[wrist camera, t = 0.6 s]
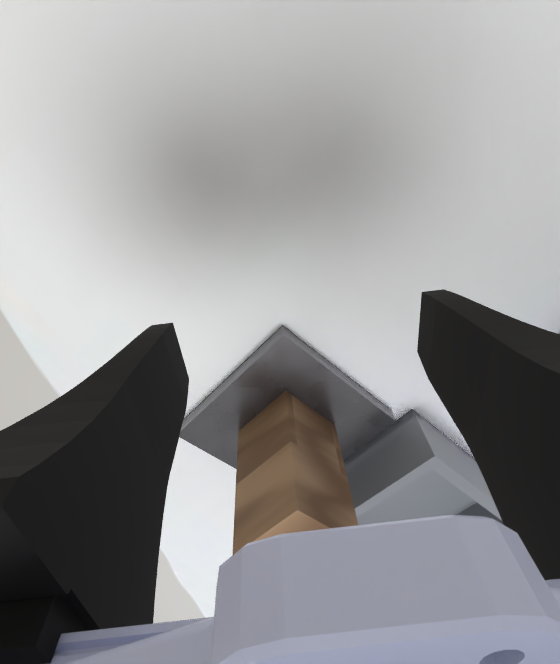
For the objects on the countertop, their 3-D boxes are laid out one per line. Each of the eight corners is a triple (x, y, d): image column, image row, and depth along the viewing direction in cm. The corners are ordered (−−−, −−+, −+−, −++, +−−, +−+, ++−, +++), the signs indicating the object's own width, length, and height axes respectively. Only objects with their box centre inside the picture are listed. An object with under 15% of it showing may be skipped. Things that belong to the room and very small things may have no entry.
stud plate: (391, 410, 27) (415, 468, 23) (288, 487, 31) (293, 549, 27) (282, 325, 24) (288, 376, 19) (178, 424, 27) (165, 485, 23)
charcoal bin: (505, 484, 32) (535, 532, 29) (386, 554, 36) (400, 603, 33) (412, 409, 27) (434, 455, 24) (288, 499, 32) (293, 549, 28)
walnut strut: (335, 425, 26) (363, 546, 20) (288, 461, 28) (299, 585, 21) (285, 390, 25) (297, 509, 18) (238, 431, 26) (232, 555, 19)
